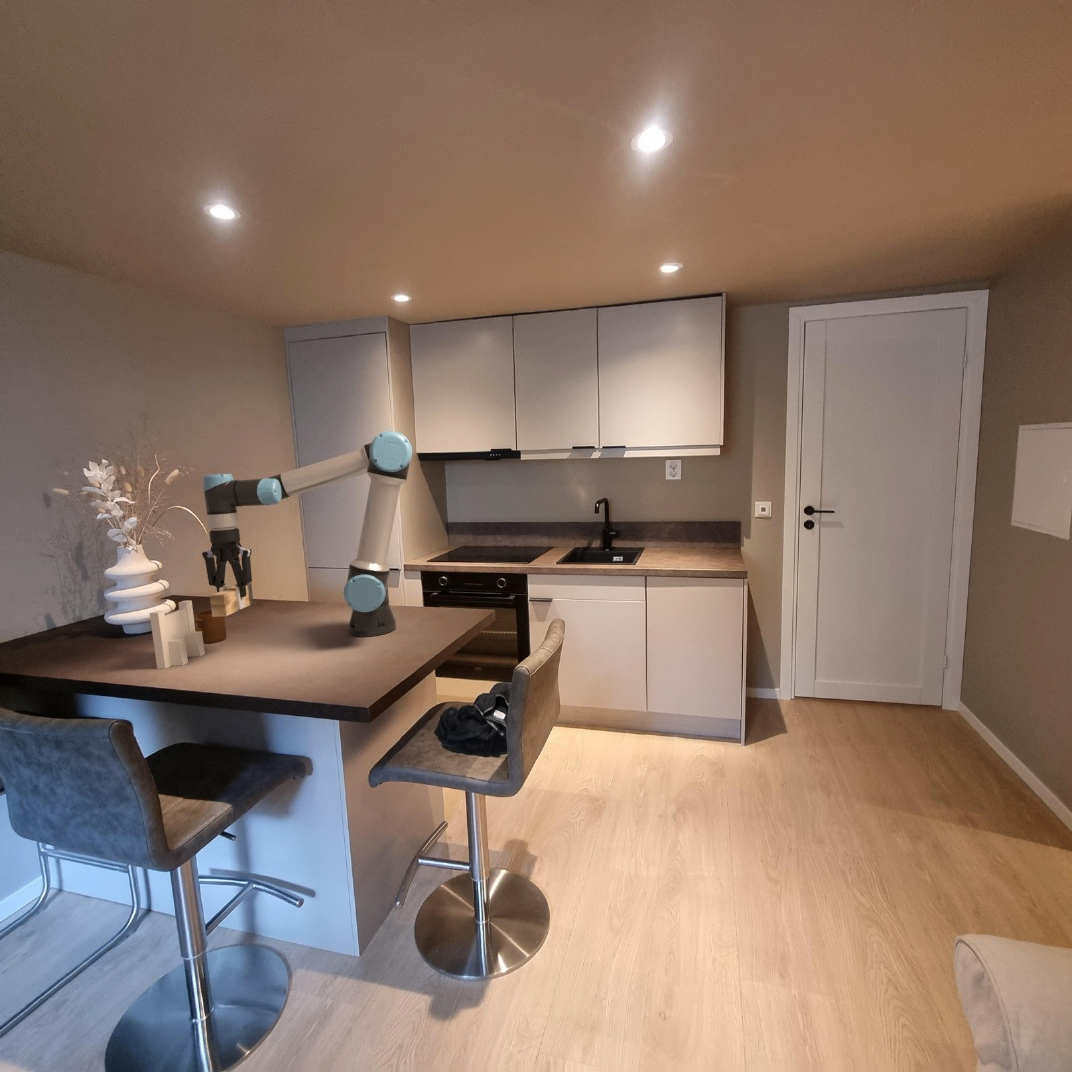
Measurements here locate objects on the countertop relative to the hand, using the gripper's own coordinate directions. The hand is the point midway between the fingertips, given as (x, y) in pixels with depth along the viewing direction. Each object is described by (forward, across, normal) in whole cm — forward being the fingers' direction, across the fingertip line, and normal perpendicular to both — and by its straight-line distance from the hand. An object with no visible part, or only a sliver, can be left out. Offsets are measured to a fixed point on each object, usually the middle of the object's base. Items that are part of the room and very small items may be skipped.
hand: (233, 608), depth 164 cm
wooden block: (0, 0, 0) cm, 0 cm away
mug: (+15, +19, -14) cm, 28 cm away
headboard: (+14, +15, +2) cm, 21 cm away
